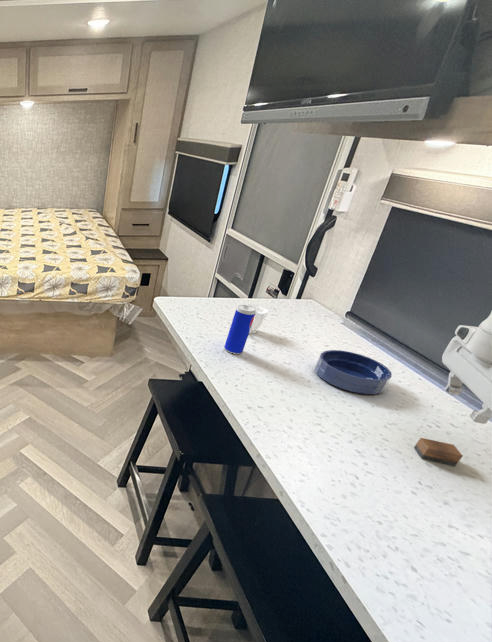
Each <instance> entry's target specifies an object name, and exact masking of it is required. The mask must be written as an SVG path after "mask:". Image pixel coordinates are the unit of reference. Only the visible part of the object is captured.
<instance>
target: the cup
mask: <svg viewBox="0 0 492 642" xmlns="http://www.w3.org/2000/svg"><path fill="white" fill-rule="evenodd" d="M248 306H252V307H254V308H255V309H256V314H255V317H254V320H253V323H252V326H251V329H250V332H249V334H256V333H257V331H258V329H260V327H261V326H262V324H263V323H264V320H265V319H266V317H267V315H268V313H269V311H268V310H267V308H265V307H262V306H259V305H252V304H248Z"/></svg>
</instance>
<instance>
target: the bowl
mask: <svg viewBox="0 0 492 642" xmlns="http://www.w3.org/2000/svg"><path fill="white" fill-rule="evenodd" d="M319 354H320V355H319V357H318V359H317V361H316V364H315V365H314V371H315V373H316V375H317V376H318V377H320V378H321V379H322V380H324V381H325V382H327V383H328V384H330V385H333V386H334V387H336V388H339V389H342V390H346V391H349V392H353V393H358V394H362V395H376V394H381V393H382V392H384V391H385V390H386V388H387V386H388V385H389V382H390V381H391V379H392V376H393V375H392V371H391V370H390V369H389V368H388V367H387V366H385V365H384V364H383V363H381V362H380V361H377V360H375V359H373V358H371V357H369V356H367V355H363V354H359V353H357V352H356V353H355V352H353V351H347V350H340V349H339V350H338V349H330V350H324V351H323V352H321V353H319Z"/></svg>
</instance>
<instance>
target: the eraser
mask: <svg viewBox="0 0 492 642" xmlns="http://www.w3.org/2000/svg"><path fill="white" fill-rule="evenodd" d="M413 448H414V450H415V451H416V453H417V454H418V456H419V457H420V459H421V460H422V459H423V460H427V461H430V462H435V463H440V464H444V465H448V466H452V467H456V466H457V464H458V463H459V461H460V460H461V459H462V458H463V454H462V453H461V452H460V450H459V449H458V448H457V447H456V445H455V444H453V443H447V442H443V441H439V440H434V439H430V438H429V439H428V438H425V437H420V438H419V439H418V441H417V442H416V444H415V445H414V447H413Z"/></svg>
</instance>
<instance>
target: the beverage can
mask: <svg viewBox="0 0 492 642" xmlns="http://www.w3.org/2000/svg"><path fill="white" fill-rule="evenodd" d="M248 305H249V304H248ZM248 305H247V304H239V305H238V306H236V309H235V312H234V314H233V318H232V321H231V324H230V327H229V330H228V333H227V337H226V340H225V342H224V350H225V351H226V352H227V351H228V352H227V353H229V352H230V353H229V354H232V353H233V354H232V355H240V354H242V353H243V352H244V349H245V347H246V343H247V340H248V338H249V334H250V333H249V332H250V329H251V326H252V323H253V320H254V317H255V314H256V309H255V308H254V307H252V306H248Z"/></svg>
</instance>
